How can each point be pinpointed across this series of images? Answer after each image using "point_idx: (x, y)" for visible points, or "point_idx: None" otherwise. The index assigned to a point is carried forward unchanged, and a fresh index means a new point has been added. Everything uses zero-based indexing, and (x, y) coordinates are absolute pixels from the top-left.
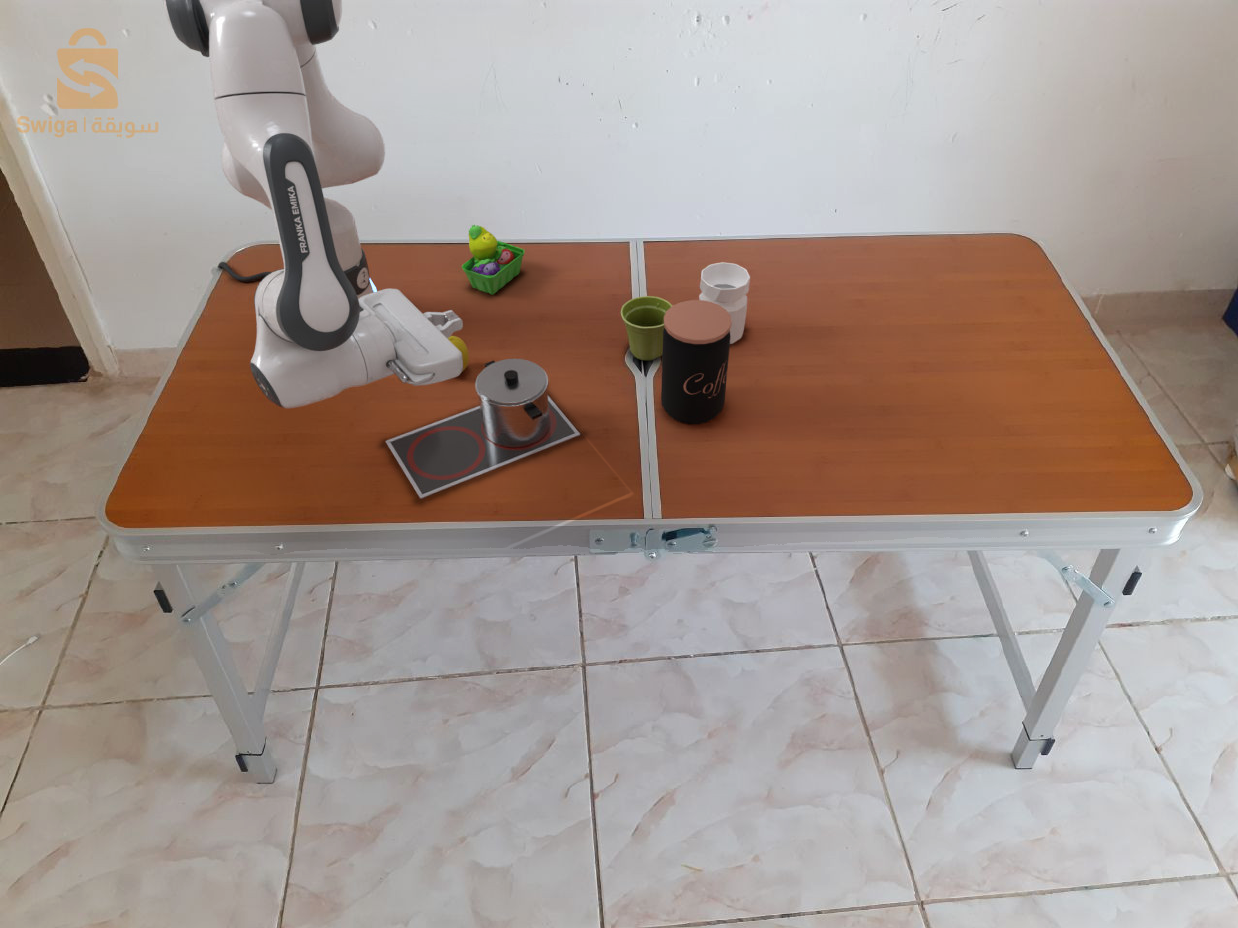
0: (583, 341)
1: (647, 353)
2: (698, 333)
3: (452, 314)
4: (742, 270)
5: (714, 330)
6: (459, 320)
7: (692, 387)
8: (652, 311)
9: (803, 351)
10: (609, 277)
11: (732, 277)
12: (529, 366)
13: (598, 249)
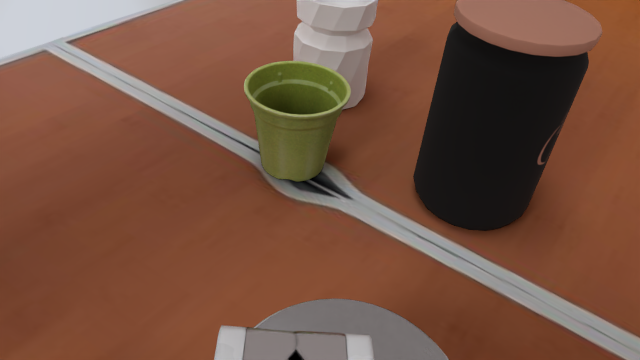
0: (181, 209)
1: (320, 161)
2: (577, 28)
3: (281, 348)
4: None
5: (577, 15)
6: (372, 349)
7: (550, 148)
8: (272, 92)
9: (430, 68)
10: (81, 101)
11: (320, 1)
12: (318, 318)
13: (7, 75)
